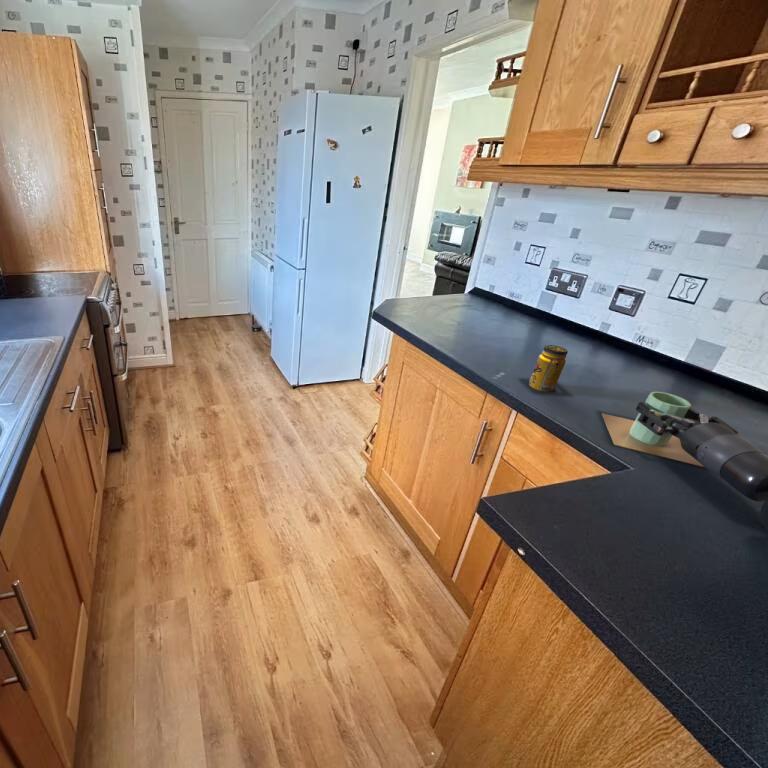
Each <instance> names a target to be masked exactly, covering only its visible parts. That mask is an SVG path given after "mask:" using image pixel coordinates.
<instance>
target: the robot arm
mask: <svg viewBox="0 0 768 768" xmlns="http://www.w3.org/2000/svg"><path fill="white" fill-rule="evenodd" d="M645 402H646V401H639V402H638V403H637V405H636V407H635V411H636V412H638V414H639V413H640V414H641V415H640V417H639V418H638V420H637V421H639V422H640V423H641V424H643V425H644V426H645V427H647V428H648V429H649V430H651V431H652V432H653V433H655V434H656V435H659V436H662V435H663V433H670V434H671V435H673V436H675V437H677V438H679V440H680V443H681V446H682V448H683V450H684V451H686V452H687V453H688V454H689V455H691V456H692V457H693V458H694V459H696V460H697V461H698V462H699V463H701V464H702V465H703V466H704V468H706V469H707V470H708V471H709V472H711V473H712V474H714V475H716V476H717V477H718V478H721V480H723V481H724V482H726V483H727V484H728V485H730V486H731V487H732V488H733V489H735V490H736V491H737V492H739V494H741V495H742V496H744V497H746V498H747V499H749V500H751V501H754V502H758V503H762V505H761V508H760V514H759V515H760V520H761V523H762V525H763V527H764V528H765V529H766V531H767V532H768V454H766V453H764V452H763V451H762V450H761V449H759V447H757V446H756V445H755V444H753V443H752V442H750V441H749V440H747V439H746V438H744V437H742V436H741V435H740V434H739V431H738V430H737V429H736V428H734V427H732V426H731V425H730V424H728V423H727V422H725V420H722V419H721V418H719V417H717V416H711V417H709V416H708V415H706V414H704V413H699V412H698V411H696V410H695V409H693V408H692V407H690V408H689V409H688V411H687V413H686V414H685V416H684V417H683V418H680V417H678V416H675V415H672V414H670V413H666V414H663V413H661V412H658V411H656V410H655V409H653V408H652V407H651V406H649V405H648V404H647V403H645ZM655 415H657V416H659V417H661V420H660V419H659V418H657V417H656V416H655ZM668 418H670V419H673V420H672V421H671V423H670V425H669V426H668V425H667V424H666V422H667V420H668Z"/></svg>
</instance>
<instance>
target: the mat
mask: <svg viewBox="0 0 768 768" xmlns="http://www.w3.org/2000/svg"><path fill="white" fill-rule="evenodd" d="M601 416H602V418H603V421H604V423H605V425H606V428H607V431H608V433H609V435H610V438H611V441H612V443H613V445H614V446H619V447H622V448H626V449H631V450H634V451H638V452H641V453H642V452H643V453H645V454H646V453H647V454H649V455H650V454H651V455H654V456H658V457H662V458H667V459H670V460H674V461H678V462H682V463H686V464H691V465H694V466H699V467H703V468H705V466H703V465H702V464H701V463H699V462H698V461H697V460H696V459H694V458H693V457H692V456H691V455H689V454H688V453H687V452H686V451H684V450H683V448H682V446H681V443H680V440H679V438H677V437H675V436H673V435H672V437H671V438H670V440H669V442H668V443H667V445H665V446H655V445H650V444H647V443H644V442H642V441H639V440H638V439H636V438H634V437H633V436H632V435H631V434H630V433H629V431H630V429H631V427H632V425H633V423H634V421H635V420H633V419H629V418H625V417H621V416H615V415H612V414H607V413H603V412H602V413H601Z"/></svg>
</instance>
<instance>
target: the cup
mask: <svg viewBox="0 0 768 768" xmlns="http://www.w3.org/2000/svg"><path fill="white" fill-rule="evenodd" d="M644 402H645V403H647V404H648V405H649V406H651V407H652V408H653V409H655V410H656V411H658V412H661V413H663V414H666V413H670V414H672V415H675V416H678V417H680V418H683V419H684V416H685V414H686V413H687V411H688V409H689V408H691V406H692V403H690V402H689V400H687V399H685V398H683V397H681V396H678V395H676V394H672V393H669V392H664V391H651V392H650V393H649V395H648V396H647V398H646V400H645V401H644ZM640 415H641V414H640V413H639V412H638V414H637V416H636V418H635V420H634V423H633V425H632V427H631V429H630V431H629V433H630V434H631V435H632V436H633V437H634V438H636V439H638V440H639V441H642V442H644V443H647V444H650V445H655V446H665V445H667V443H668V442H669V440H670V438H671V437H672V435H671V434H670V433H663V435H662V436H659V435H656V434H655V433H653V432H652V431H651V430H649V429H648V428H647V427H645V426H644V425H643V424H641V423H640V422H639V421H637V420H638V418H639V417H640ZM655 416H656V417H657V418H659V419H660V420H661V417H659V416H657V415H655ZM672 420H673V419H670V418H668V420H667V422H666V424H667V425H668V426H669V425H670V423H671V421H672Z"/></svg>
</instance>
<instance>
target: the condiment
mask: <svg viewBox="0 0 768 768" xmlns="http://www.w3.org/2000/svg"><path fill="white" fill-rule="evenodd" d="M567 355H568V350H567V349H566V348H564V347H563V346H559V345H556V344H555V345H554V344H547V345H545V346H544V347H543V350H542V352H541V354H539V355H538V358H537V361H536V363H535V365H534V369H533V370H532V373H531V376H530V378H529V381H528V385H529V387H530V388H532V389H533V390H536V391H539V392H544V393H551V392H553V391H554V390H555V388H556V386H557V384H558V382H559V379H560V377H561V374H562V372H563V369H564V367H565V365H566V361H567V360H566V358H567Z"/></svg>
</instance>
